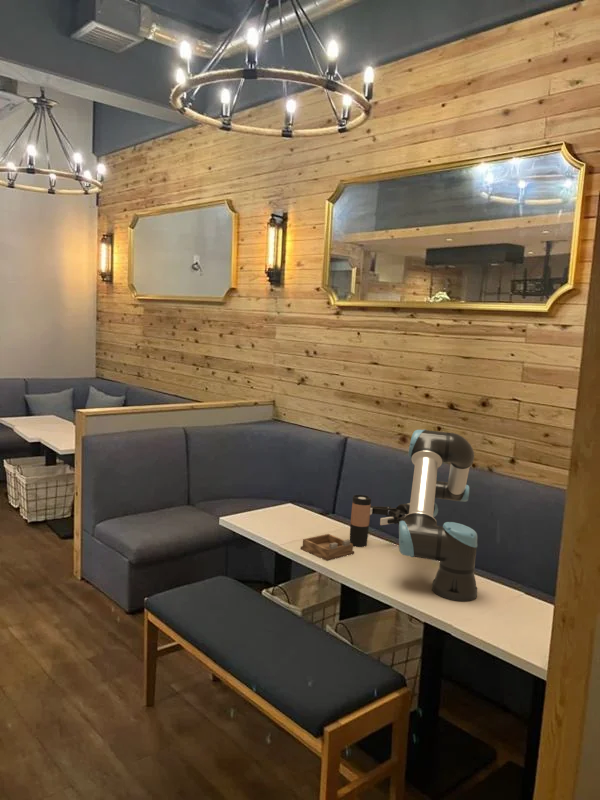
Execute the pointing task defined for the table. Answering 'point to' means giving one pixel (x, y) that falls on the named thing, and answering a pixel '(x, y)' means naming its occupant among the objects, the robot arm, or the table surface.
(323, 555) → the tray
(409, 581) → the table surface
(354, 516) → the travel mug
